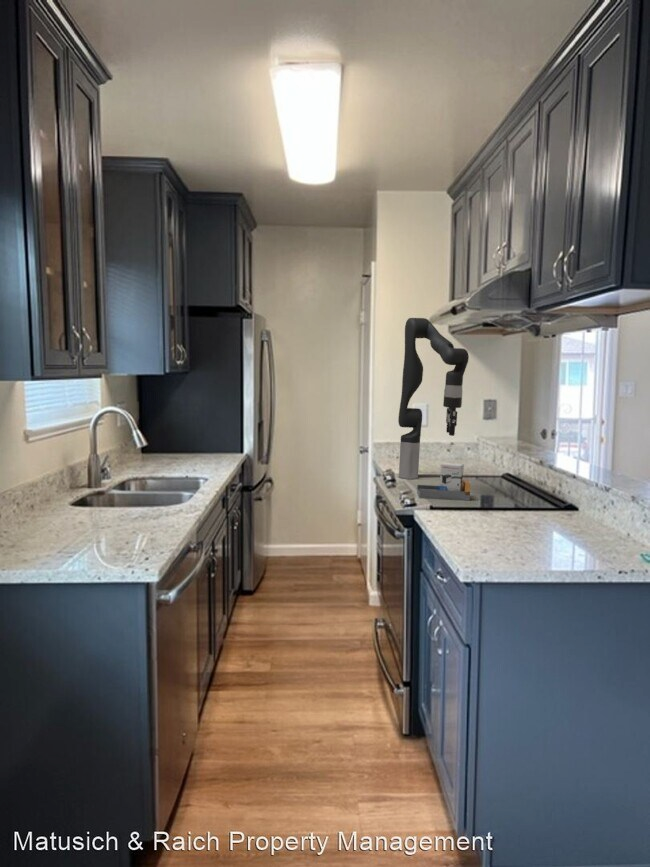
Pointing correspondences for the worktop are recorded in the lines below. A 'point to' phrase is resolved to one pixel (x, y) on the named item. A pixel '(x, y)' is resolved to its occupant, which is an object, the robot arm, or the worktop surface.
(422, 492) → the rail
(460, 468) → the ink box
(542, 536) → the worktop surface
